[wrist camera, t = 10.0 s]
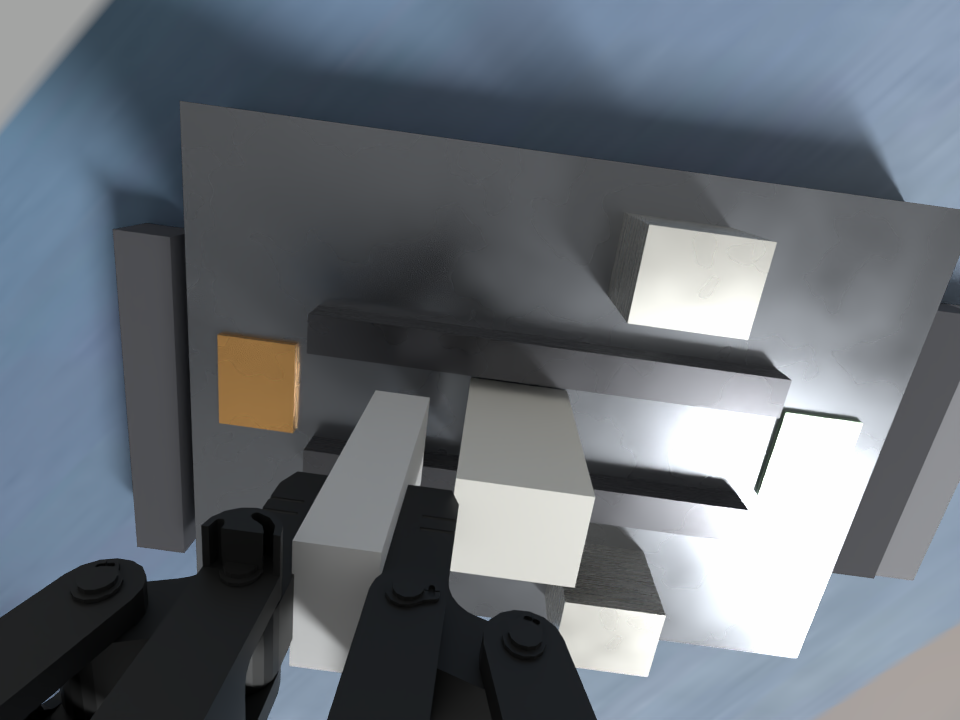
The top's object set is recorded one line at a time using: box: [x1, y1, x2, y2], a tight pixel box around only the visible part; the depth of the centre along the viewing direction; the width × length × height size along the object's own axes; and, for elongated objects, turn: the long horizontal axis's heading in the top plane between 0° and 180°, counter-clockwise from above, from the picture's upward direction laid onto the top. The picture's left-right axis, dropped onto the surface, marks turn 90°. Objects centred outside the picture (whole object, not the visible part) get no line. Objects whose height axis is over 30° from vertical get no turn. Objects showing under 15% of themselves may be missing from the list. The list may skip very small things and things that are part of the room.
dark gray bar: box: [113, 223, 196, 553], centre depth 21 cm, size 2×12×2 cm, turn 173°
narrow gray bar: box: [831, 303, 960, 580], centre depth 21 cm, size 3×10×2 cm, turn 173°
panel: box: [180, 101, 960, 677], centre depth 19 cm, size 22×16×6 cm
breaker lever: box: [450, 378, 595, 588], centre depth 16 cm, size 3×2×6 cm
